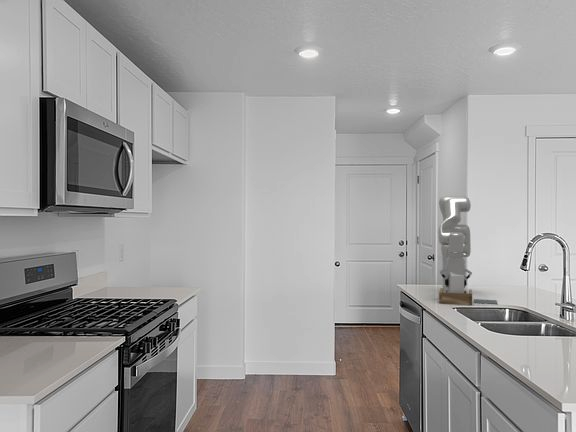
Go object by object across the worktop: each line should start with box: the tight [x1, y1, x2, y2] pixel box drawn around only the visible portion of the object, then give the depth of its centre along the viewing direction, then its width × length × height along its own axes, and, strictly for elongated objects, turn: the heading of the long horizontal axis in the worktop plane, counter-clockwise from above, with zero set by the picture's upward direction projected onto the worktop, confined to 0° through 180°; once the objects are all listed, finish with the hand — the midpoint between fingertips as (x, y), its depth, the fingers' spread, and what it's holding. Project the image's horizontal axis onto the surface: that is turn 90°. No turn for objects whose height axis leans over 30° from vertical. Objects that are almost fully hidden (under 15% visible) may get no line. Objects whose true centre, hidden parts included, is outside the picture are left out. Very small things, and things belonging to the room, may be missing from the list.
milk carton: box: [447, 272, 465, 293], centre depth 278 cm, size 7×7×19 cm
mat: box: [473, 298, 499, 305], centre depth 279 cm, size 12×12×1 cm
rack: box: [438, 287, 473, 306], centre depth 280 cm, size 18×17×6 cm
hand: (455, 286), depth 278 cm, fingers closed on milk carton, 8 cm apart
